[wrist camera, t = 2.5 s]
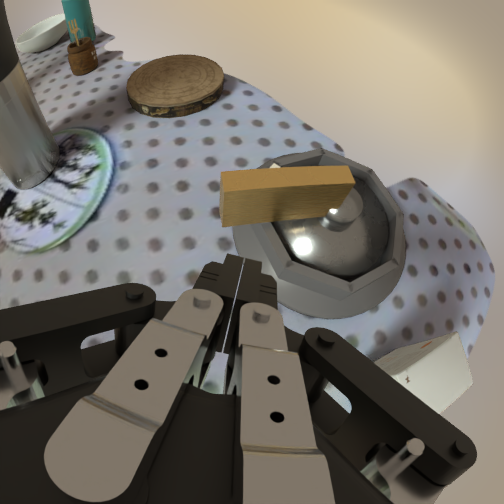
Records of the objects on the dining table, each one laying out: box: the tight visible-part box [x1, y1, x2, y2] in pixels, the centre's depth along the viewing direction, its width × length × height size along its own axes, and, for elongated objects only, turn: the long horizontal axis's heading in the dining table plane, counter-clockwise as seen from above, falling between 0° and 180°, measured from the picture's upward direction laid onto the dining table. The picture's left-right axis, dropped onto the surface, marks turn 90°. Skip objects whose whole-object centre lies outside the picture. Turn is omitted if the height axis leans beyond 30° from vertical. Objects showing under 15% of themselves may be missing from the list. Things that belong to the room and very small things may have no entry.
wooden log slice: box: [126, 55, 224, 118], centre depth 41 cm, size 16×16×3 cm
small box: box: [373, 332, 473, 415], centre depth 23 cm, size 8×6×10 cm
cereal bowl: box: [16, 13, 68, 53], centre depth 47 cm, size 17×17×7 cm
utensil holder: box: [67, 19, 98, 76], centre depth 39 cm, size 6×6×12 cm
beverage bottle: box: [62, 0, 96, 43], centre depth 40 cm, size 6×7×20 cm
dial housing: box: [232, 148, 406, 319], centre depth 33 cm, size 22×22×4 cm
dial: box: [219, 165, 388, 280], centre depth 29 cm, size 20×14×9 cm
